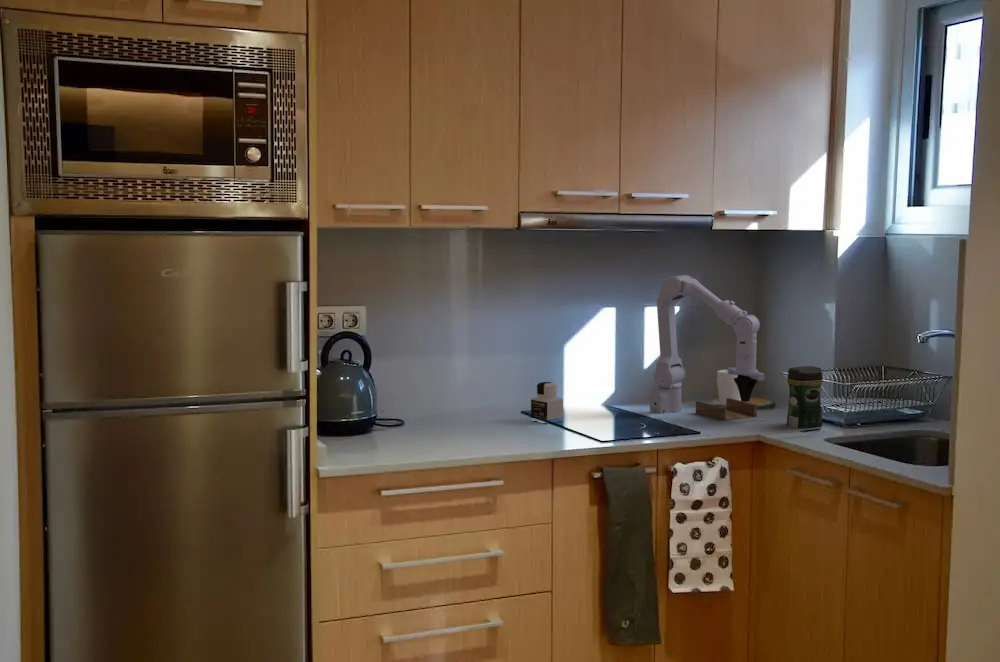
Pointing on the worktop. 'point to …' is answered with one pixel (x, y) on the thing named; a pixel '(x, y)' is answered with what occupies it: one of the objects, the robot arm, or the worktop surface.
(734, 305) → the robot arm
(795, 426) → the coffee jar
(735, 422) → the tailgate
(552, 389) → the medicine bottle
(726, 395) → the cup
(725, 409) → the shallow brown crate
